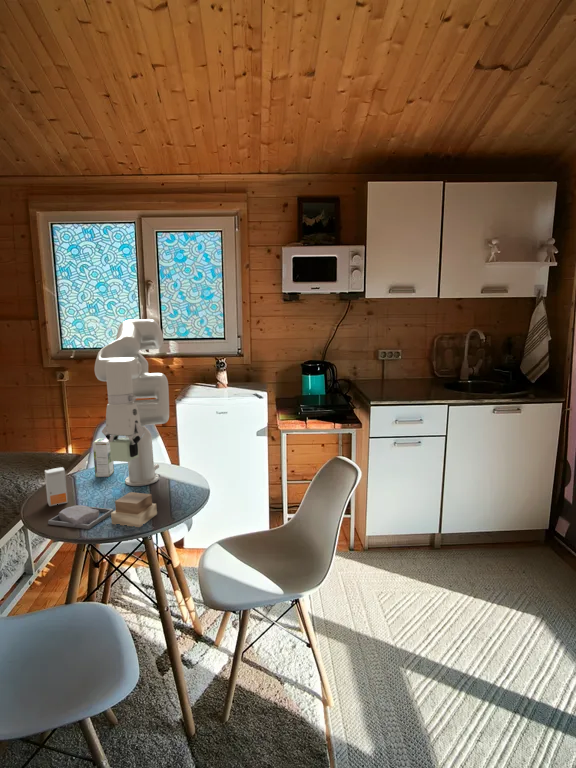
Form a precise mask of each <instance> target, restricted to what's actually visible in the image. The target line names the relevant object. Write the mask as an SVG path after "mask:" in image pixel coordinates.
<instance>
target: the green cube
mask: <svg viewBox="0 0 576 768" xmlns="http://www.w3.org/2000/svg"><path fill="white" fill-rule="evenodd" d="M133 439H134V438H133ZM137 444H138V443H137ZM130 445H131V442H130V440H129V438H126V437H120V438H119V437H118V439H117V440H114V441H111V442H110V452H111V461H113V462H121V463H128V461H131V460H133V459H135V458H137V457H139V452H138V455H136V456H134V457H130Z"/></svg>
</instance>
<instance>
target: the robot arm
mask: <svg viewBox="0 0 576 768" xmlns="http://www.w3.org/2000/svg"><path fill="white" fill-rule="evenodd" d="M163 345H164V334H163V331H162V328H161V327H160V325H159V323H158V321H156V320H155V319H150V318H146V319H142V318H141V319H139V318H138V319H127V320H124V321H123V322H121V323H120V324H119V326H118V329H117V333H116V338H115V340H113V341H112V342H110V343H108V344H107V345H105V346H103V347H102V348H101V349H100V350H99V351H98V353H97V356H96V359H95V363H94V374H95V377H96V378H97V380H98V381H100V382H106V389H107V391H106V392H107V404H106V411H105V412H106V413H105V426H104V427H103V429H102V430H101V433H102V434H103V435H104V436H105V438H107V439H108V440H109V443H110V442H111V441H114V440H117V439H119V436H124V437H125V438H129V440H130V442H131V445H130V457H134V456H136V455H138V452H139V457H137V458H135V459H133V460H131V461H128V462H127V467H128V469H127V471H128V476H126V478H125V479H124V483H125V484H126V485H127V486H130V487H143V486H148V485H152V484H154V483H156V482H158V481H159V480H160V476H159V474H158V473H156V470H158V469H160V464H158V463H156V464H155V462H154V451H153V450H154V449H153V436H152V433H151V432H150V430H149V429H148V428H147V427H146V426H151V425H153V426H154V425H162V424H166V423H168V421H169V418H170V395H169V394H170V392H169V391H170V390H169V381H168V378H167V376H166V375H165V374H164V373H162V372H151V373H150V372H149V362H148V360H147V359H146V357H144V355H142V354H141V353H140V350H141V351H142V350H144V351H145V350H157V349H161V348H162V347H163ZM149 398H150V399H149ZM151 398H154V399H151ZM133 438H134V439H133ZM137 443H138V444H137Z"/></svg>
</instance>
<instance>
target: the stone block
mask: <svg viewBox="0 0 576 768" xmlns="http://www.w3.org/2000/svg"><path fill="white" fill-rule="evenodd" d="M89 507H90V506H88V507H87V506H86V505H83V504H82V505H81V504H80V505H79V506H75V505H72V506H68V507H66V508H64V509H62V510H61V511H59V512H58V515H59V519H58V520H59V521H62V522H70V523H73V524H74V527H73V528H75V527H76V525H77V524H87V525H88V524H90V523H91V522H93V521H95V520H96V519H98V518H99V517H100V512H99V510H96V509H92V508H89Z"/></svg>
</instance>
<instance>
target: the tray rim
mask: <svg viewBox="0 0 576 768" xmlns="http://www.w3.org/2000/svg"><path fill="white" fill-rule="evenodd" d="M74 506H79V505H77V504H74ZM87 507H89V508H92V509H96V510H99V513H103V514H102V515H101V516H99V517H98V519H96V520H95V521H93V522H90V523H88V524H77V525H76V527H74V524H73V523H70V522H63V521H61V520H60V519H59V514H58V515H55V516H54V517H52V518H50V519H48V520H47V524H48V525H53V526H60V527H67V528H68V527H69V528H77V529H83V530H90V529H92V528H93V527H94V526H96V525H97V524H99V523H100V522H102V521H103V520H105V519H107V518H108V517H109V516H111V513H112V512H113V511H114V509H113V508H105V507H104V508H103V507H95V506H87Z"/></svg>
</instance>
